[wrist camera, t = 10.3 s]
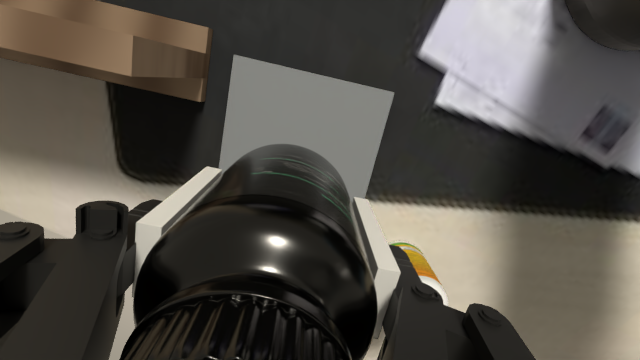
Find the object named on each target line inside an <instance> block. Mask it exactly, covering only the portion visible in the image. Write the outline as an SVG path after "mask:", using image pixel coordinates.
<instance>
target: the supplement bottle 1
mask: <svg viewBox="0 0 640 360" xmlns="http://www.w3.org/2000/svg"><path fill="white" fill-rule="evenodd" d="M133 313H134V323H135V329H134V331H133V332H132V334H131V336H130V337H129V339H128V340H127V342H126V344H125V346H124V349H123V351H122V354H121V358H120V359H119V360H363V359H364V357H365V355H366V353H367V351H368V349H369V347H370V344H371V341H372V339H373V335H374V332H375V327H376V322H377V313H378V302H377V293H376V287H375V283H374V278H373V274H372V270H371V267H370V264H369V260H368V257H367V253H366V250H365V247H364V243H363V240H362V237H361V233H360V230H359V227H358V223H357V220H356V217H355V213H354V210H353V207H352V203H351V200H350V197H349V194H348V191H347V188H346V185H345V183H344V181H343V179H342V178H341V176H340V174H339V173H338V171H337V170H336V169H335V168H334V166H333V165H332V164H331V163H330V162H329V161H327V160H326V159H325V158H324V157H322V156H321V155H319V154H318V153H316V152H314V151H312V150H310V149H308V148H305V147H302V146H298V145H292V144H272V145H266V146H262V147H259V148H257V149H254V150H252V151H250V152H248V153H247V154H245V155H243V156H242V157H241V158H239V159H238V160H237V161H236V162H235V163H234V164H232V165H231V166H230V167H229V168H228V169H227V170H226V171H225V172H224V173H223V174H222V175H221V176H220V177H219V178H218V179H217V180H216V181H215V182H214V183H213V184H212V185H211V186H210V187H209V188H208V189H207V190H206V191H205V192H204V193H203V194H202V195H201V196H200V197H199V198H198V199H197V200H196V201H195V202H194V203H193V204H192V205H191V206H190V207H189V208H188V209H187V210H186V211H185V212H184V213H183V214H182V215H181V216H180V217H179V218H178V219H177V220H176V221H175V222H174V223H173V224H172V225H171V226H170V227H169V228H168V229H167V230H166V231H165V232H164V233H163V235H162V236H161V237H160V238H159V240H158V241H157V242H156V243H155V244H154V246H153V247H152V248H151V250H150V251H149V253H148V255H147V256H146V258H145V260H144V262H143V264H142V266H141V269H140V272H139V274H138V277H137V281H136V286H135V291H134V302H133Z"/></svg>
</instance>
